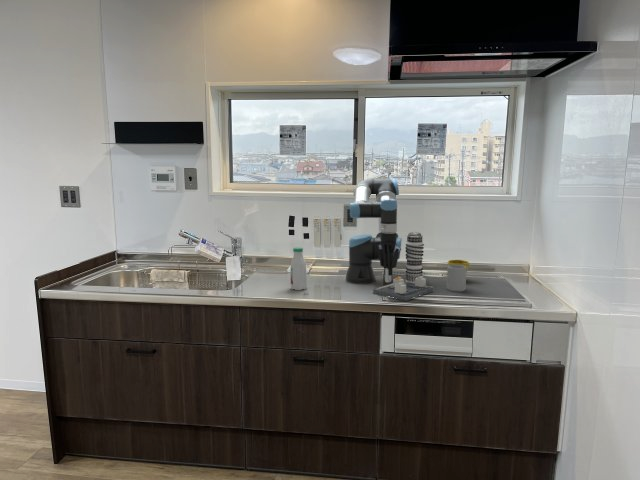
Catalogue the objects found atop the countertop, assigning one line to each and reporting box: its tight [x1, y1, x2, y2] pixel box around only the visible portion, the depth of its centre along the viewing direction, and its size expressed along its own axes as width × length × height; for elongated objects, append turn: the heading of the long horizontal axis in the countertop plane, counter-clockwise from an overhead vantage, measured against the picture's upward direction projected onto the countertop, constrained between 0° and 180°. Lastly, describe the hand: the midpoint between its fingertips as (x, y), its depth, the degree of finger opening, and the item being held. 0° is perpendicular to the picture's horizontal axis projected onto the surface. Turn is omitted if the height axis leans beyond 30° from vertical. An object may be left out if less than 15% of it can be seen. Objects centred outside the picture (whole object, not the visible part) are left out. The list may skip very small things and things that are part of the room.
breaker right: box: [415, 275, 427, 287], centre depth 208 cm, size 4×3×4 cm
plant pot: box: [447, 259, 470, 274], centre depth 227 cm, size 10×10×10 cm
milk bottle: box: [290, 246, 308, 291], centre depth 214 cm, size 8×8×20 cm
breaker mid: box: [392, 276, 405, 287], centre depth 207 cm, size 4×3×4 cm
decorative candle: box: [405, 231, 425, 283], centre depth 224 cm, size 9×9×25 cm
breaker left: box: [395, 282, 406, 294], centre depth 197 cm, size 4×3×4 cm
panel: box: [372, 280, 434, 302], centre depth 206 cm, size 18×22×2 cm
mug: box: [446, 265, 467, 292], centre depth 211 cm, size 12×8×11 cm
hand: (388, 281), depth 211 cm, fingers closed
